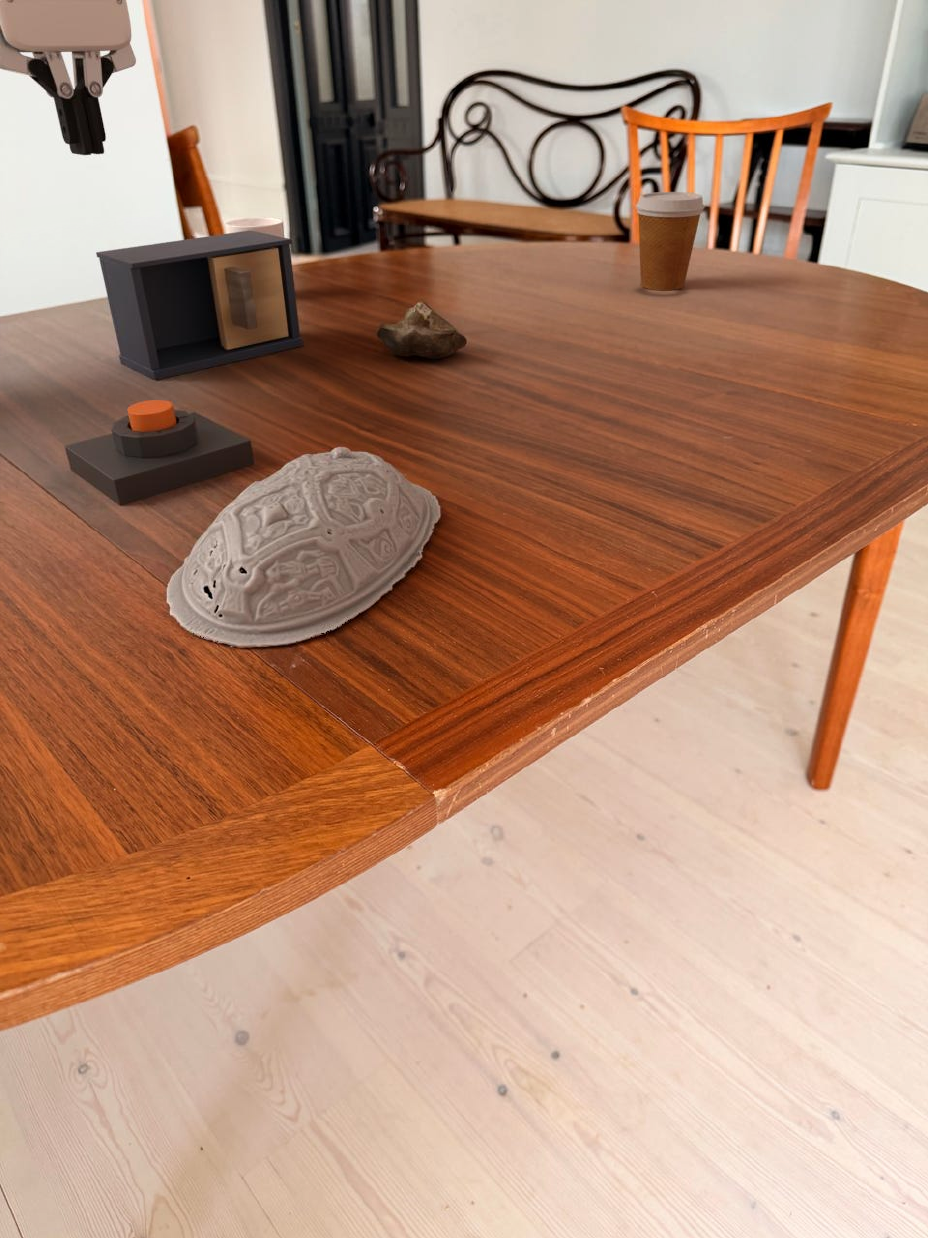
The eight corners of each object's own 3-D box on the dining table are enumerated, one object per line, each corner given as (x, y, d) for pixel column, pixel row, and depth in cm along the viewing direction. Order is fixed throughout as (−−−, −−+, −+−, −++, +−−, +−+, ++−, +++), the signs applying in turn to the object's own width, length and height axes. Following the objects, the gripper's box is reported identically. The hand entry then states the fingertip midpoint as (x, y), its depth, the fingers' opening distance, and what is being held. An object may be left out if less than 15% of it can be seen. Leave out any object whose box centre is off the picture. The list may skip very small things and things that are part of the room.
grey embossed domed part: (106, 611, 55) (94, 512, 52) (306, 477, 76) (307, 399, 72) (331, 682, 52) (334, 580, 48) (478, 521, 72) (488, 441, 69)
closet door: (243, 356, 100) (229, 262, 95) (223, 348, 103) (209, 256, 98) (305, 342, 105) (295, 251, 100) (285, 335, 108) (274, 246, 102)
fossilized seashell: (360, 338, 101) (436, 365, 98) (381, 281, 100) (459, 306, 97) (389, 357, 108) (461, 382, 105) (409, 304, 107) (482, 327, 104)
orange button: (143, 438, 73) (138, 417, 72) (124, 427, 75) (120, 406, 74) (184, 427, 75) (180, 406, 74) (164, 416, 77) (160, 396, 76)
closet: (155, 380, 98) (131, 263, 91) (120, 363, 103) (95, 252, 97) (303, 345, 108) (291, 238, 102) (264, 332, 114) (250, 229, 108)
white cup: (250, 305, 126) (240, 228, 121) (227, 295, 132) (216, 221, 126) (301, 296, 130) (292, 222, 125) (276, 287, 136) (267, 215, 130)
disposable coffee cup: (626, 278, 137) (632, 191, 130) (689, 278, 136) (699, 190, 130) (633, 293, 129) (640, 201, 122) (700, 292, 128) (711, 200, 122)
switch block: (120, 506, 70) (108, 458, 68) (70, 470, 77) (58, 425, 75) (254, 464, 77) (248, 419, 75) (198, 434, 83) (191, 392, 81)
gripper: (106, -117, 71) (152, 144, 81) (-101, -137, 63) (-22, 157, 73) (148, -131, 66) (192, 149, 76) (-71, -154, 58) (10, 164, 68)
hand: (87, 152), depth 74 cm, fingers closed
